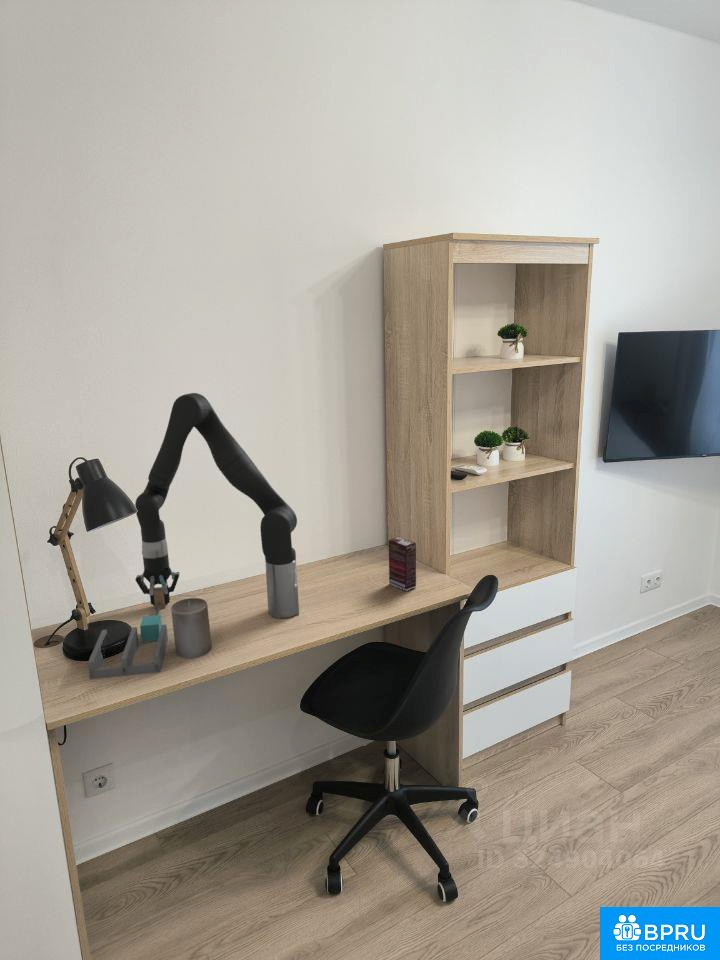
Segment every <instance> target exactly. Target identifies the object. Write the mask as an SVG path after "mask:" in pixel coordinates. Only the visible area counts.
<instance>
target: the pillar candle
mask: <svg viewBox="0 0 720 960" xmlns="http://www.w3.org/2000/svg"><path fill="white" fill-rule="evenodd" d="M170 612H171V619H172V620H171V621H172V630H173V638H174V639H173V640H174V645H175V647H174V648H175V654H176V656H178V657H180V658H183V659H196V658H197V659H198V658H201V657H204V656H206V655H207V654H209V653H210V652H211V650H212V646H213V645H212V637H211V627H210V617H209V609H208V602H207V601H206V600H205V599H203V598H199V597H198V598H197V597H191V598H183V599H180V600H179V601H176V602H174V603H173V604H172V605H171V607H170Z"/></svg>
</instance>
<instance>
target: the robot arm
mask: <svg viewBox="0 0 720 960" xmlns="http://www.w3.org/2000/svg"><path fill="white" fill-rule="evenodd" d="M194 428H195V429H196V430H197V432H198V433H199V434H200V435H201V437H202V438H203V439H204V441H205V442H206V444H207V446H208V448H209V450H210V453H211V455H212V458H213V459H212V460H214V463H215V465H216V467H217V469H218V470H219V471H220V473H221V474H222V475H223V476H224V478H226V481H228V483H229V484H231V486H232V487H234V489H236V490H237V491H239V492H241V493H242V494H244V495H246V496H247V497H248V498H249V499H250V500H251V501H253V502H254V503H255V504H256V505H257V506H258V508H259V509H260V511H261V512H262V514H263V515H264V516H263V517H262V519H261V520H260V540H261V541H260V542H261V548H262V553H263V555H264V562H265V575H266V576H265V578H266V595H267V609H268V610H267V612H268V615H269V616H270V617H272V618H275V619H288V618H291V617H293V616H297V615H299V614H300V607H299V605H300V604H299V588H298V585H299V584H298V575H297V571H298V570H297V554H296V553H297V552H296V550H295V548H294V547H293V545H292V533H293V531H294V530H295V529H296V527H297V525H298V518H297V514H296V512H295V511H294V510H293V508H292V507H291V506H290V505H289V504H288V503H287V502H286V501H285V500H284V499H283V497H281V496H280V495H279V494H278V492H276V490H275V489H274V488H273V487H272V485H270V483H269V481H268V480H267V478H266V477H265V476H264V475H263V473H262V472H261V471H260V470H259V469H258V467H257V466H256V464H255V463H254V461H253V460H252V459H251V458H250V456H249V454H248V453H246V452H247V451H245V450H244V448H242V446H241V445H240V444H239V442H238V441H237V440H236V438H234V437H233V435H232V434H231V433H230V432H229V430H228V429H227V428H226V427H225V424H224V423H223V422H222V421H221V419H220V418H219V416H218V414H217V413H216V410H214V408H213V406H212V405H211V403H210V402H209V400H208V399H207V398H206V397H205V396H204V395H202V394H200V393H198V392H197V393H196V392H190V393H186V394H182V395H180V396H178V397H177V398H176V399H175V400H174V403H173V405H172V407H171V411H170V415H169V419H168V424H167V427H166V431H165V434H164V437H163V440H162V444H161V445H160V448H159V451H158V453H157V456H156V457H155V460H154V462H153V465H152V467H151V469H150V471H149V473H148V477H147V480H148V481H147V484H146V486H145V488H144V490H143V492H142V493H140V494H139V495H138V496H137V497H136V499H135V504H134V507H135V506H136V508H137V510H138V512H137V513H136V512H135V514H136V518H137V520H138V524H139V526H140V533H141V534H140V535H141V554H142V560H143V561H142V562H143V570H144V571H143V572H142V574H137V575H136V577H135V582H136V583H137V585H138V587H139V588H140V590H141V591H142V593H143V594H144V595H149V598H150V604H151V605H152V606H153V607H155V601H154V588H155V587H156V585H161V587H162V588H163V590H164V599H165V605H166V606H167V605H168V604H170V602H171V601H170V600H171V599H170V593H173V592H175V589H176V588H175V587H176V586H177V584H178V582H179V581H178V580H179V577H180V571H177V572H176V571H173V570H172V569H171V567H170V559H169V549H168V542H167V537H166V529H165V524H164V521H163V520H162V519H161V517H160V516H161V515H160V510H161V508H162V507H163V505H164V504H165V502H166V499H167V498H168V493H169V490H170V486H171V484H172V483H173V481H174V478H175V476H176V474H177V472H178V470H179V467H180V464H181V460H182V454H183V450H184V446H185V444H186V442H187V438H188V437H189V434H191V432H192V430H193V429H194ZM170 576H171V579H172V583H171V586H169V584H168V579H169V578H170ZM144 580H147V582H148V583H149V587H148V586H147V584H146V583H145V581H144Z"/></svg>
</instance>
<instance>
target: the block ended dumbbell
mask: <svg viewBox="0 0 720 960" xmlns="http://www.w3.org/2000/svg"><path fill="white" fill-rule="evenodd" d="M154 601H155V606H154V608H155V613H154V615H147V616H143V617H142V619H141V622H140V628H139V629H140V637H141V642H142V643H147V642H156V641H157V642H158V638H159V634H160V630H161V627H162V625H163V623H162V622H163V621H162V615H161V614H160V611H161V609H166V607H167V605H165V599H164V590H163V588H162V586H161V587H160V586H155V588H154Z"/></svg>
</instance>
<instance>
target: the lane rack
mask: <svg viewBox="0 0 720 960" xmlns="http://www.w3.org/2000/svg"><path fill="white" fill-rule="evenodd" d="M106 634H107V635H108V630H107V629H101V632H100V634H99V637H98V639H97V641H96V643H95V645H94V648H93V650H92V652H91V654H90V656H89V659H88V662H87V665H88V672H89V678H90V679H91V680H92V679H93V680H95V679H103V678H105V679H106V678H113V677H124V676H134V675H146V674H147V675H148V674H155V673H161V670H162V666H163V661H164V658H165V655H166V654H165V653H166V649H167V645H168V640H169V637H168V627H167V624H162V627H161V630H160V634H159V638H158V641H157V642H156V647H155V649H154V653H153V661H154V662H147V663H136V664H133V660H134V658H135V655H136V650H137V648H138V646H139V634H138V627H137V626H134V627H133V626H132V627H131V630H130V633H129V635H128V638H127V641H126V644H125V646H124V649H123V651H122V652H123V653H122V655H121V657H120V661H121V662H120V663H121V665H116V666H105V667H104V666H103V667H101V665H102V663H103V661H104V658H103V655H102V653H101V645H102V643H103V640H104V638H105V636H106Z"/></svg>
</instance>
